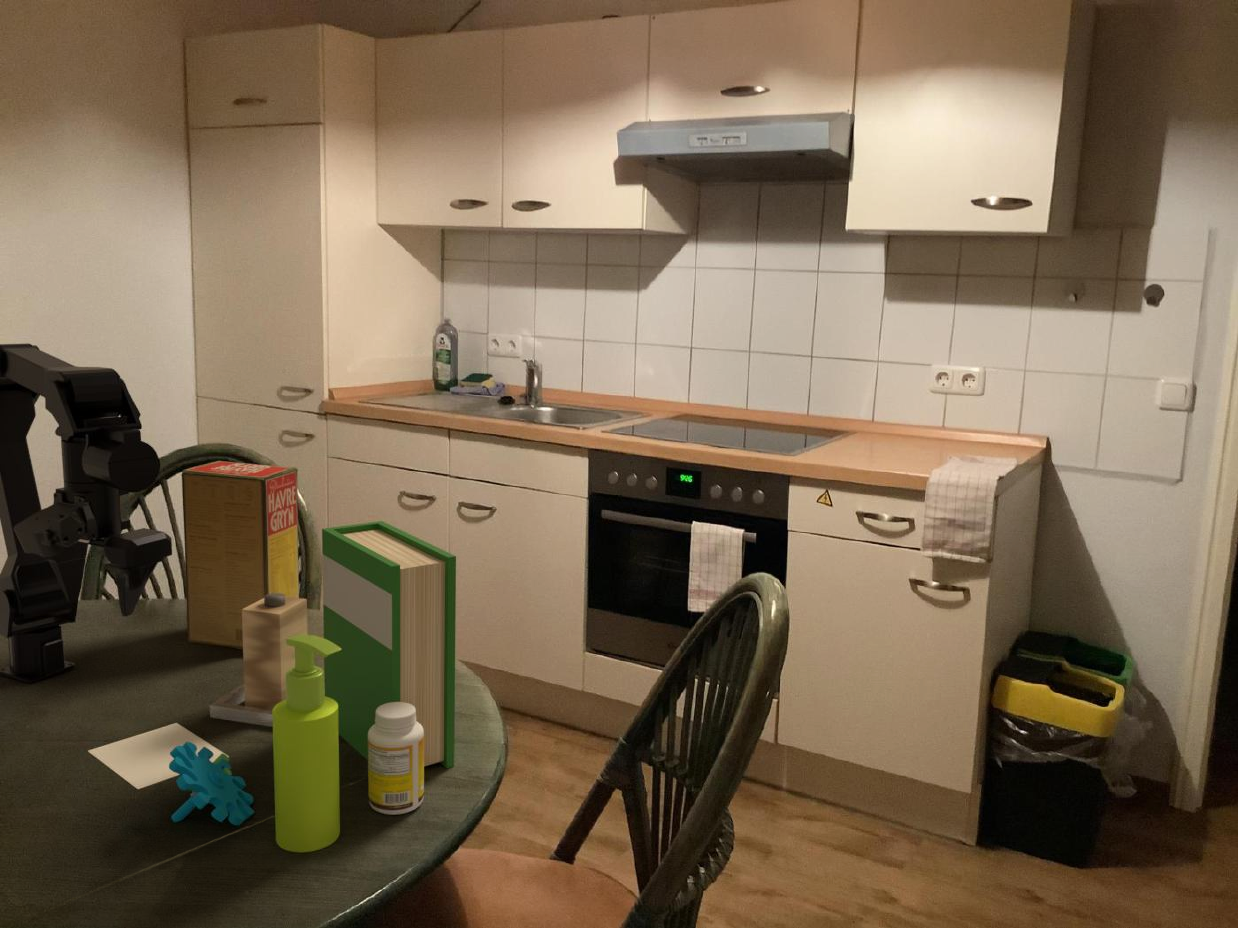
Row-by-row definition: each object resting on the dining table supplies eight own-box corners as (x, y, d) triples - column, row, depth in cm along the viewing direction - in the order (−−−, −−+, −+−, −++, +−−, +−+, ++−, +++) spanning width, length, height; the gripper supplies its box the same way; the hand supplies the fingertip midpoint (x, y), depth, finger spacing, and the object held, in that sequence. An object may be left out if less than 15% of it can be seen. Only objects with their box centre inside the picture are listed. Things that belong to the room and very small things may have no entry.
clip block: (245, 712, 123) (241, 601, 121) (273, 692, 129) (270, 586, 126) (282, 717, 122) (279, 606, 120) (308, 698, 128) (306, 591, 125)
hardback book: (454, 766, 113) (456, 556, 108) (392, 784, 108) (391, 566, 104) (382, 709, 126) (381, 520, 122) (325, 724, 121) (322, 528, 117)
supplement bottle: (401, 783, 108) (400, 693, 106) (435, 802, 105) (435, 709, 103) (356, 803, 104) (355, 709, 102) (390, 823, 100) (390, 726, 99)
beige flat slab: (87, 753, 112) (87, 750, 112) (176, 725, 120) (176, 722, 120) (138, 791, 105) (137, 788, 104) (229, 759, 112) (229, 756, 112)
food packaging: (303, 631, 151) (300, 466, 147) (268, 653, 142) (263, 478, 138) (223, 621, 154) (218, 458, 150) (184, 642, 145) (176, 470, 141)
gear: (246, 830, 95) (166, 758, 94) (199, 876, 95) (118, 804, 94) (269, 786, 106) (198, 721, 105) (228, 827, 106) (155, 763, 105)
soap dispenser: (312, 863, 93) (308, 656, 90) (262, 839, 97) (256, 639, 93) (360, 834, 98) (358, 637, 95) (310, 813, 102) (307, 622, 98)
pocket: (210, 719, 122) (209, 704, 121) (262, 684, 132) (262, 671, 132) (293, 731, 119) (293, 717, 119) (340, 695, 130) (339, 681, 129)
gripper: (-31, 480, 114) (-19, 614, 117) (84, 502, 106) (93, 644, 109) (61, 465, 124) (69, 588, 127) (172, 483, 116) (178, 615, 119)
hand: (99, 608), depth 120 cm, fingers open, 9 cm apart
